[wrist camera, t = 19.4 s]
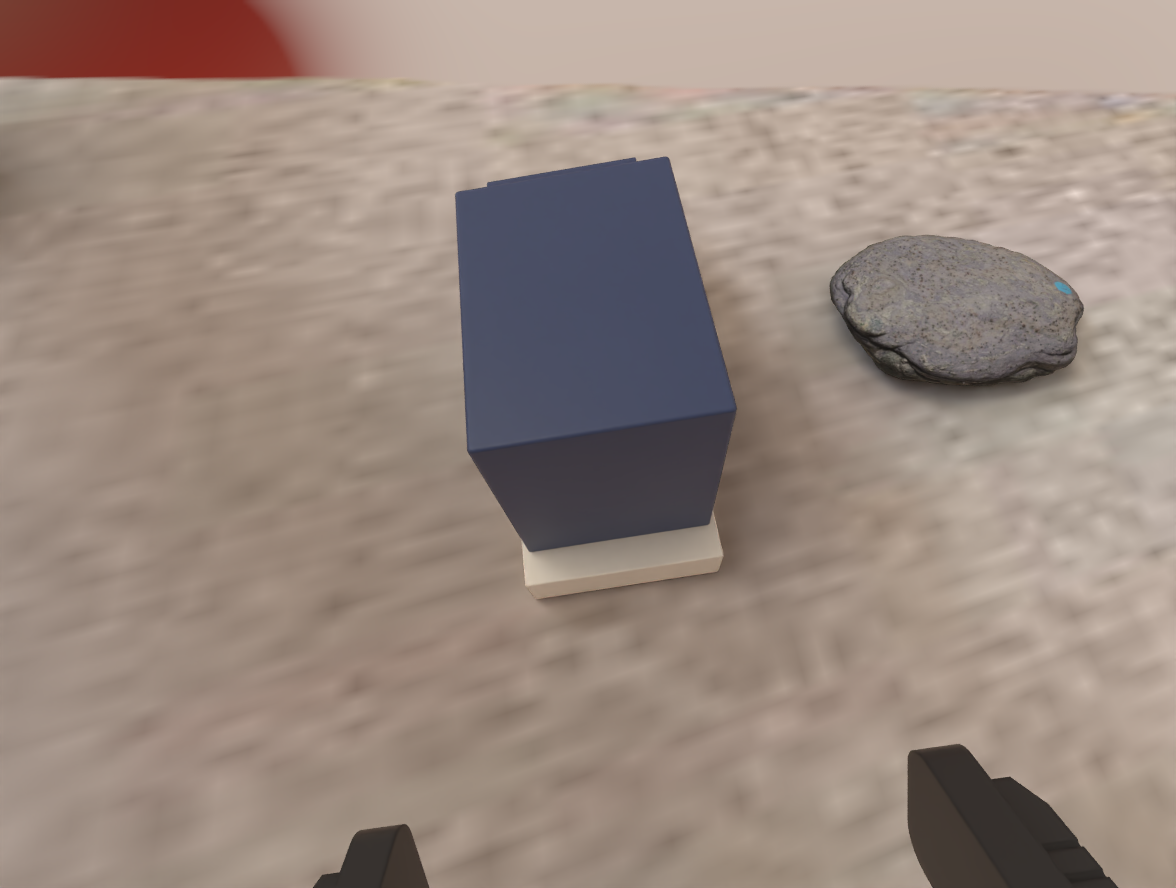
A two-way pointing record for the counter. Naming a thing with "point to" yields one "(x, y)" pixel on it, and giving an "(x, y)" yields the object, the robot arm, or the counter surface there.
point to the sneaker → (593, 374)
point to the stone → (957, 311)
